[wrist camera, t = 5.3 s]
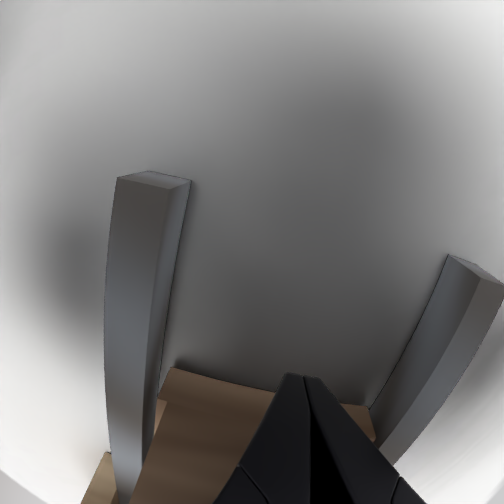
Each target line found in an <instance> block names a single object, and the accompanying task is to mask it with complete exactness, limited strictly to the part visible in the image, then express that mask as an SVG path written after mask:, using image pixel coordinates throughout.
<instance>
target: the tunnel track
mask: <svg viewBox="0 0 504 504" xmlns="http://www.w3.org/2000/svg"><path fill="white" fill-rule="evenodd" d="M190 185H191V180H187V179H183V178H178V177H174V176H169V175H165V174H160V173H156V172H151V171H145V172H140V173H136V174H131V175H126V176H122V177H117V181H116V188H115V194H114V201H113V209H112V216H111V225H110V234H109V244H108V255H107V267H106V283H105V305H104V371H105V392H106V407H107V419H108V430H109V439H110V448H111V454H109V453H107V452H105V453H104V456H103V458H102V460H101V462H100V464H99V466H98V468H97V470H96V472H95V474H94V476H93V478H92V480H91V482H90V485H89V487H88V489H87V491H86V493H85V495H84V497H83V500H82V502H81V504H129V502H130V499H131V496H132V494H133V491H134V488H135V486H136V483H137V480H138V477H139V475H140V472H141V469H142V467H143V464H144V461H145V459H146V456H147V453H148V451H149V448H150V446H151V443H152V440H153V438H154V428H155V416H156V404H157V394H158V384H159V375H160V366H161V358H162V349H163V342H164V334H165V327H166V319H167V312H168V306H169V299H170V293H171V286H172V280H173V274H174V268H175V262H176V257H177V251H178V245H179V240H180V235H181V229H182V224H183V219H184V214H185V209H186V204H187V199H188V195H189V190H190ZM503 299H504V284H503V283H502V282H500V281H499V280H497V279H496V278H495V277H493V276H492V275H490V274H489V273H488V272H486V271H485V270H483V269H482V268H480V267H479V266H477V265H476V264H473V263H471V262H468V261H465V260H462V259H460V258H457V257H454V256H451V255H448V257H447V260H446V263H445V265H444V268H443V270H442V273H441V275H440V277H439V280H438V282H437V285H436V287H435V289H434V292H433V294H432V296H431V298H430V300H429V303H428V305H427V307H426V309H425V311H424V313H423V316H422V318H421V320H420V322H419V324H418V326H417V328H416V330H415V332H414V334H413V336H412V338H411V340H410V342H409V344H408V345H407V347H406V349H405V351H404V353H403V355H402V357H401V358H400V360H399V362H398V364H397V366H396V367H395V369H394V371H393V373H392V374H391V376H390V378H389V379H388V381H387V383H386V384H385V386H384V388H383V389H382V391H381V393H380V394H379V396H378V397H377V399H376V401H375V402H374V404H373V405H372V407H371V408H370V410H369V415H370V418H371V421H372V425H373V428H374V431H375V435H376V439H375V441H374V442H373V444H374V445H375V446H376V447H377V448H378V449H379V451H380V452H381V453H382V454H383V455H384V456H385V458H386V459H387V460H388V461H389V462H390V463H391V465H392V466H393V465H394V464H395V463H396V462H397V461H398V459H399V458H400V457H401V456H402V455H403V454H404V453H405V452H406V450H407V449H408V448H409V447H410V446H411V445H412V443H413V442H414V441H415V440H416V438H417V437H418V436H419V435H420V434H421V432H422V431H423V430H424V429H425V427H426V426H427V425H428V423H429V422H430V421H431V419H432V418H433V417H434V416H435V414H436V413H437V411H438V410H439V409H440V407H441V406H442V405H443V403H444V402H445V400H446V399H447V397H448V396H449V395H450V393H451V392H452V390H453V389H454V387H455V386H456V384H457V383H458V381H459V379H460V378H461V376H462V375H463V373H464V372H465V370H466V368H467V367H468V365H469V363H470V362H471V360H472V358H473V357H474V355H475V353H476V351H477V350H478V348H479V346H480V344H481V343H482V341H483V339H484V337H485V335H486V333H487V331H488V330H489V328H490V326H491V324H492V322H493V320H494V318H495V316H496V314H497V312H498V309H499V307H500V305H501V303H502V301H503Z"/></svg>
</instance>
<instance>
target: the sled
mask: <svg viewBox="0 0 504 504" xmlns="http://www.w3.org/2000/svg"><path fill="white" fill-rule="evenodd" d="M274 395H275V392H270V391H265V390H260V389H255V388H251V387H246V386H242V385H237V384H233V383H229V382H225V381H221V380H217V379H213V378H209V377H205V376H202V375H198V374H194V373H191V372H187V371H184V370H180V369H177V368H173V367H171V368H170V370H169V372H168V374H167V377H166V379H165V381H164V384H163V386H162V388H161V391H160V393H159V395H158V397H157V404H156V416H155V428H154V438H153V440H152V443H151V446H150V448H149V451H148V453H147V456H146V459H145V461H144V464H143V467H142V469H141V472H140V475H139V477H138V480H137V483H136V486H135V488H134V491H133V494H132V496H131V499H130V502H129V504H212V503H213V501H214V500H215V499H216V497H217V496H218V495H219V493H220V492H221V490H222V489H223V487H224V485H225V484H226V482H227V481H228V479H229V478H230V476H231V474H232V472H233V471H234V469H235V467H236V466H237V464H238V462H239V461H240V459H241V457H242V455H243V453H244V452H245V450H246V448H247V446H248V444H249V442H250V441H251V439H252V437H253V435H254V433H255V431H256V429H257V428H258V426H259V424H260V422H261V420H262V418H263V416H264V414H265V412H266V410H267V408H268V406H269V405H270V403H271V401H272V399H273V397H274ZM340 404H341V405H342V406H343V408H344V409H345V410H346V411H347V412H348V414H349V415H350V416H351V417H352V418H353V420H354V421H355V422H356V423H357V424H358V426H359V427H360V428H361V429H362V430H363V432H364V433H365V434H366V435H367V436H368V438H369V439H370V440H371V441H372V442H374V441H375V439H376V435H375V431H374V428H373V425H372V421H371V418H370V415H369V411H368V408H367V406H360V405H351V404H343V403H340Z"/></svg>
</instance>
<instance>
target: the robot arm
mask: <svg viewBox="0 0 504 504" xmlns="http://www.w3.org/2000/svg"><path fill="white" fill-rule="evenodd" d="M399 476H400V474H399V473H398V472H397V470H396V469H395V468H394V467H393V466H392V465H391V463H390V462H389V461H388V460H387V459H386V458H385V456H384V455H383V454H382V453H381V452H380V451H379V449H378V448H377V447H376V446H375V445H374V444H373V442H372V441H371V440H370V439H369V438H368V436H367V435H366V434H365V433H364V432H363V430H362V429H361V428H360V427H359V426H358V424H357V423H356V422H355V421H354V420H353V418H352V417H351V416H350V415H349V414H348V412H347V411H346V410H345V409H344V408H343V406H342V405H341V404H340V403H339V402H338V400H337V399H336V398H335V397H334V395H333V394H332V393H331V392H330V391H329V389H328V388H327V387H326V386H325V384H324V383H323V382H322V381H321V380H320V379H319V378H317V377H311V376H302V375H300V374H294V373H289V372H287V373H285V374H284V376H283V378H282V380H281V383H280V385H279V387H278V389H277V391H276V393H275V395H274V397H273V399H272V401H271V403H270V405H269V406H268V408H267V410H266V412H265V414H264V416H263V418H262V420H261V422H260V424H259V426H258V428H257V429H256V431H255V433H254V435H253V437H252V439H251V441H250V442H249V444H248V446H247V448H246V450H245V452H244V453H243V455H242V457H241V459H240V461H239V462H238V464H237V466H236V467H235V469H234V471H233V472H232V474H231V476H230V478H229V479H228V481H227V482H226V484H225V485H224V487H223V489H222V490H221V492H220V493H219V495H218V496H217V497H216V499H215V500H214V501H213V503H212V504H427V503H426V502H424V500H423V499H422V498H421V497H420V496H419V495H418V494H417V493H416V492H415V491H414V490H413V489H412V488H411V486H410V485H409V484H408V483H407V482H406V481H405V480H404V478H403V477H401V476H400V477H399Z"/></svg>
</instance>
